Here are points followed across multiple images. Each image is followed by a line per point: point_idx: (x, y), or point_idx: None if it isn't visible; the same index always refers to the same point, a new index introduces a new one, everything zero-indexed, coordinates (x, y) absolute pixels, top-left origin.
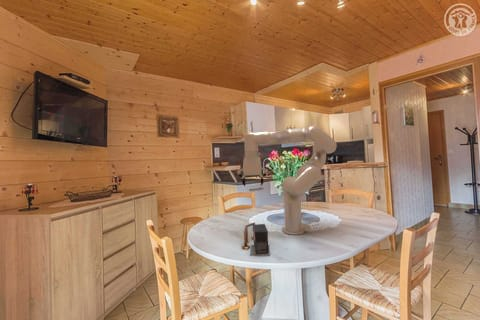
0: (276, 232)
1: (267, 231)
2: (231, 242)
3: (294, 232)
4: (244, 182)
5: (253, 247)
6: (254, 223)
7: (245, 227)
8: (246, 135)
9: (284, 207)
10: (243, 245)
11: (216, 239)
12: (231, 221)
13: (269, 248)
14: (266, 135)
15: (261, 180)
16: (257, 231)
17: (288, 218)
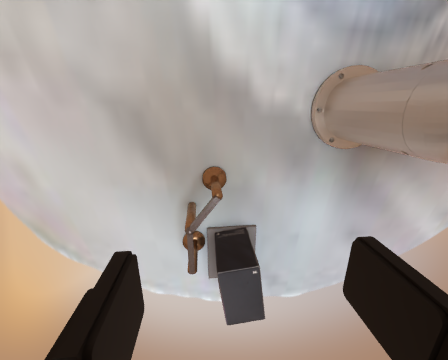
0: (288, 120)
1: (264, 318)
2: (144, 207)
3: (345, 144)
4: (126, 354)
5: (214, 245)
6: (218, 200)
7: (189, 249)
8: None
9: (389, 118)
10: (186, 235)
11: (85, 186)
12: None
13: (254, 248)
14: None
15: (396, 353)
16: (235, 323)
17: (362, 140)
